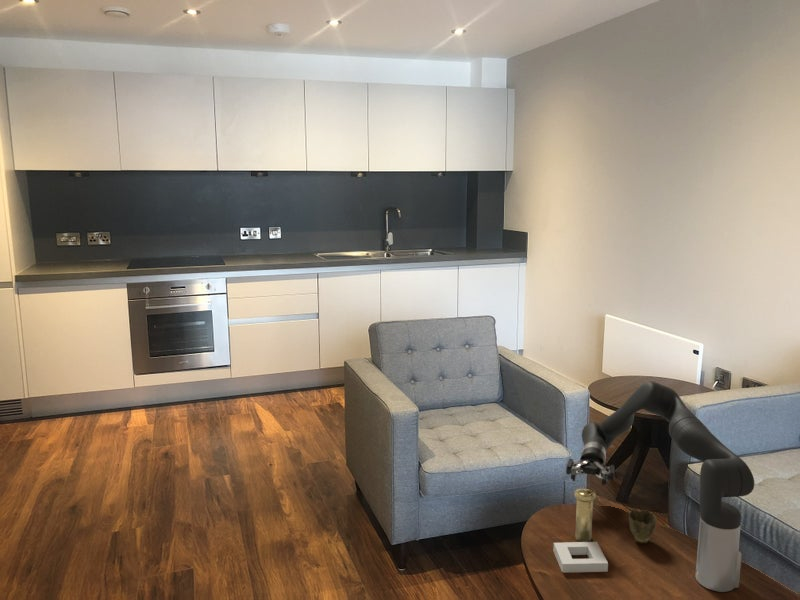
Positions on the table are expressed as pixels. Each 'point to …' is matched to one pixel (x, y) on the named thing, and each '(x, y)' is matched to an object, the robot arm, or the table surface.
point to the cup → (642, 524)
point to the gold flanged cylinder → (584, 514)
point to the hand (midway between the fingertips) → (588, 480)
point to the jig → (568, 564)
